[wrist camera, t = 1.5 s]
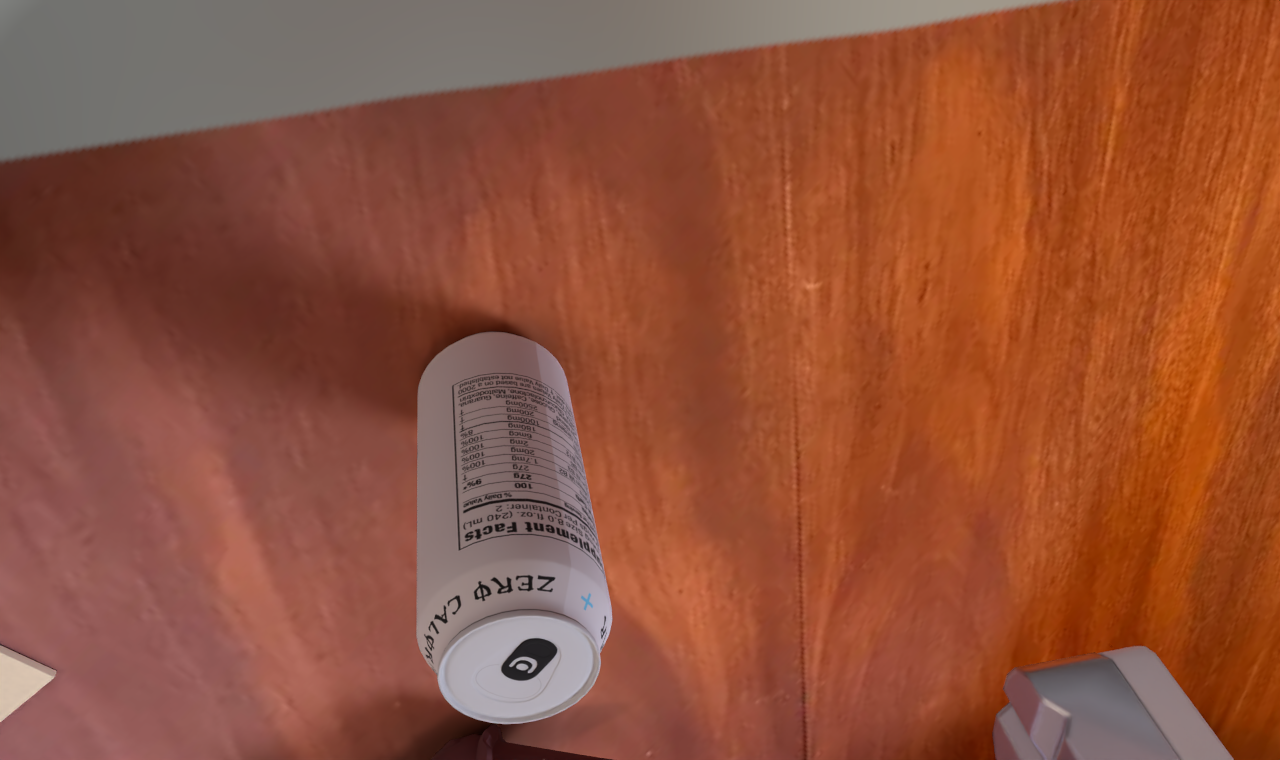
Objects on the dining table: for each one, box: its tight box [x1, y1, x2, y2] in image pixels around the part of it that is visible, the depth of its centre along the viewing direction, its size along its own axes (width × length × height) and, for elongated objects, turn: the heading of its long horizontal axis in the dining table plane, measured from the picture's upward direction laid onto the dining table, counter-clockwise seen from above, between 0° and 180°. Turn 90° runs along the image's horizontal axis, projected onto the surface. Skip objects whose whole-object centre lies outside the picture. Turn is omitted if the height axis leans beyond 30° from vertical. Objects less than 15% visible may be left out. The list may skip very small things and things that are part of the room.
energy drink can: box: [417, 332, 612, 724], centre depth 37 cm, size 6×6×15 cm
